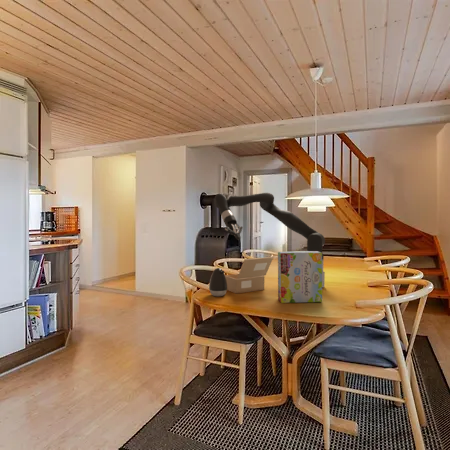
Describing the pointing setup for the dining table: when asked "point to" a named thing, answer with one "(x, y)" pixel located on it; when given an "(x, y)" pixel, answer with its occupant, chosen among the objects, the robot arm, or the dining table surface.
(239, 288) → the mailer box
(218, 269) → the dark grey egg shape
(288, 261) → the snack box
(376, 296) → the dining table surface
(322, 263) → the robot arm
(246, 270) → the lid
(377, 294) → the dining table surface
